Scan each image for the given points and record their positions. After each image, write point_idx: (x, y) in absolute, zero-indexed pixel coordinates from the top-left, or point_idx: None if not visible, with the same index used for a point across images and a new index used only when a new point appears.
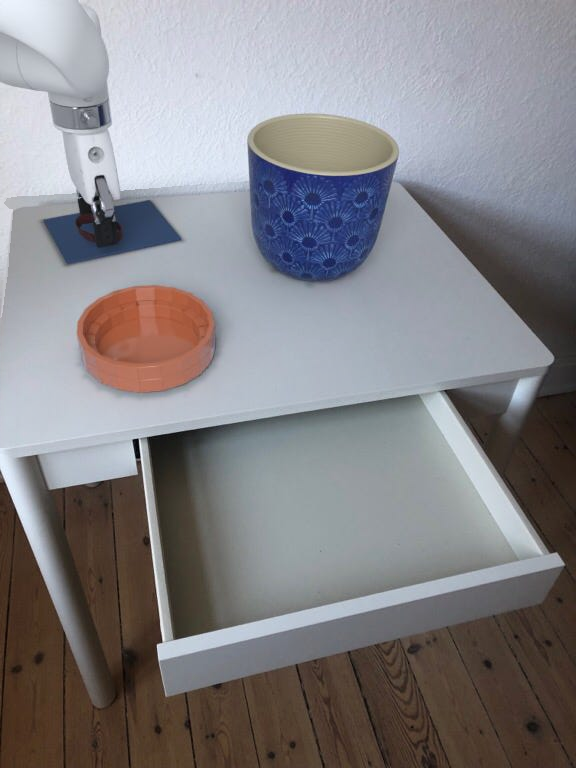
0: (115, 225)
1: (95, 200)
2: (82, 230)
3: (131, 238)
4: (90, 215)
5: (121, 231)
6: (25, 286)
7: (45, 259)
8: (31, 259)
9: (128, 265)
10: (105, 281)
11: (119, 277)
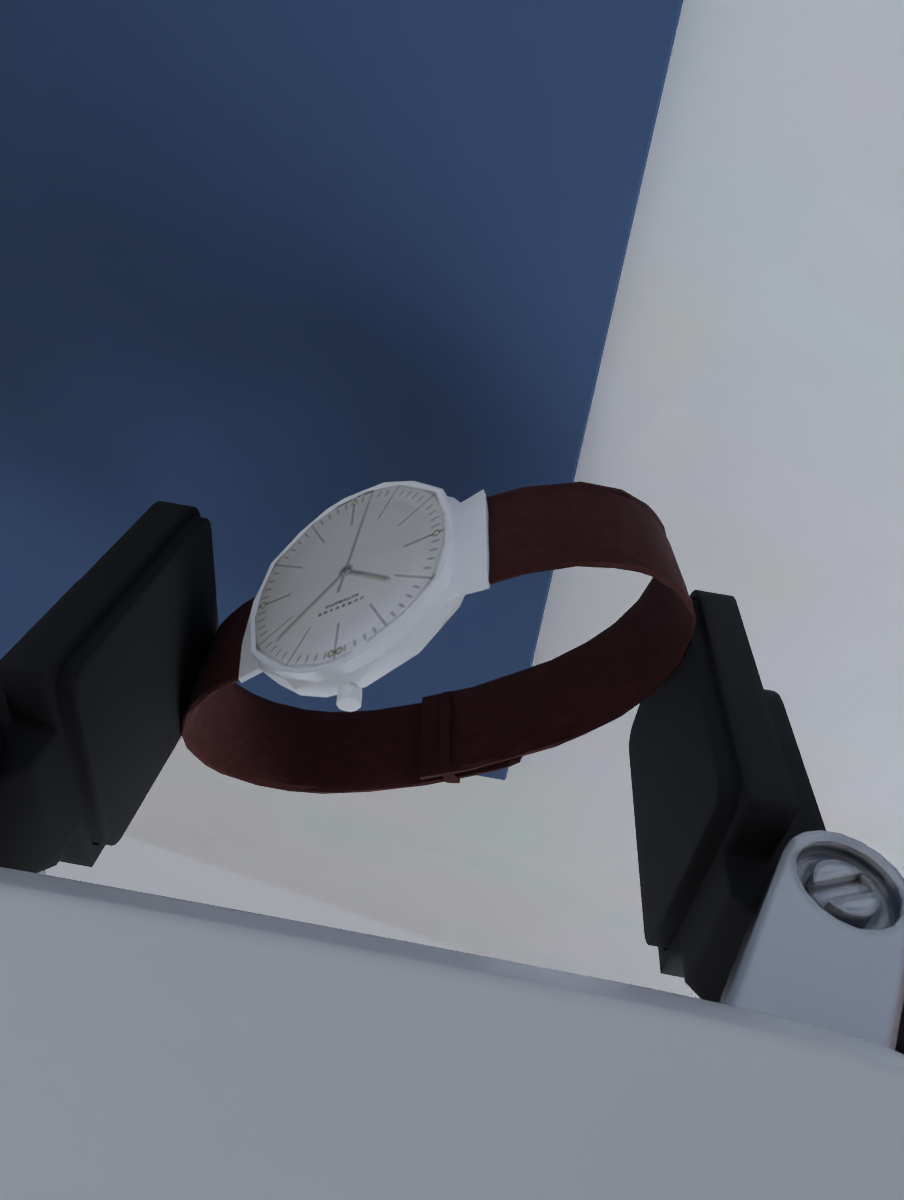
0: (777, 748)
1: (93, 701)
2: (408, 782)
3: (427, 237)
4: (220, 682)
5: (661, 550)
6: (585, 952)
7: (384, 816)
8: (350, 856)
9: (803, 471)
10: (860, 693)
11: (898, 604)
